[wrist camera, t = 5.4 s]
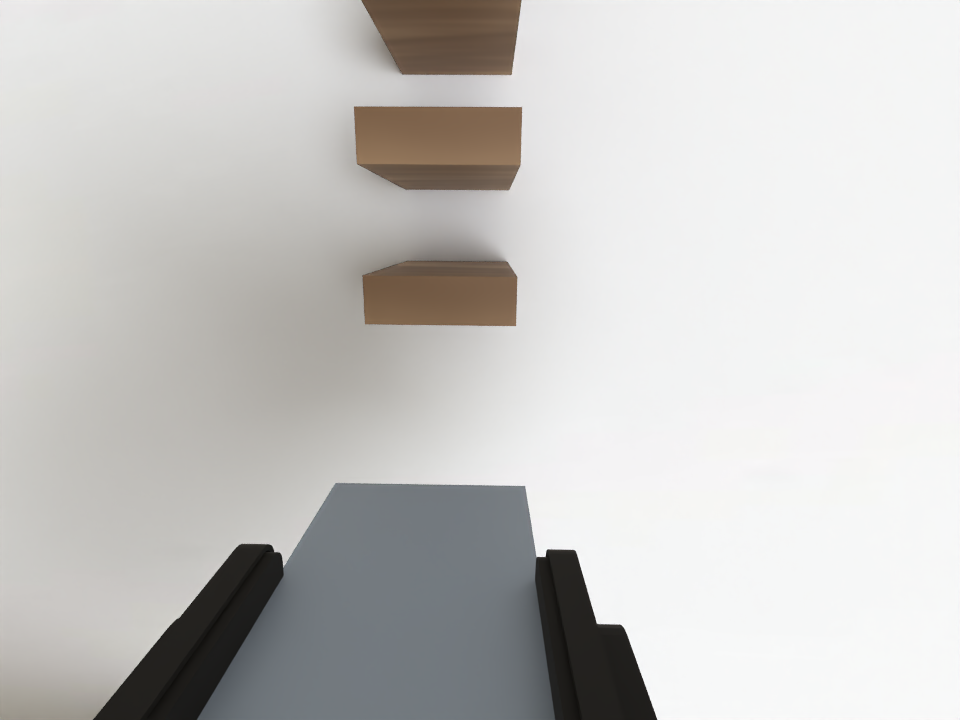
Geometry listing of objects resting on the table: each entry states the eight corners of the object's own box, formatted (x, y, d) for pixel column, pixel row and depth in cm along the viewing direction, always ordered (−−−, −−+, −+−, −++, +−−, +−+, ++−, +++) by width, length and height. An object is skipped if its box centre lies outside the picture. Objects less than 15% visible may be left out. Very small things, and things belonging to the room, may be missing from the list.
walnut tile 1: (506, 293, 25) (515, 326, 16) (408, 292, 25) (365, 324, 16) (507, 261, 24) (517, 276, 16) (407, 261, 25) (362, 275, 16)
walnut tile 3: (511, 74, 22) (524, -27, 14) (402, 74, 22) (346, -27, 14) (512, 34, 22) (526, -96, 13) (401, 34, 22) (343, -96, 13)
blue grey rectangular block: (523, 539, 13) (596, 1122, 4) (339, 536, 13) (56, 1108, 5) (524, 486, 13) (607, 1008, 4) (335, 483, 13) (21, 995, 4)
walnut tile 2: (508, 190, 24) (520, 165, 15) (405, 189, 24) (356, 163, 15) (509, 154, 23) (521, 107, 14) (404, 153, 23) (354, 106, 15)
